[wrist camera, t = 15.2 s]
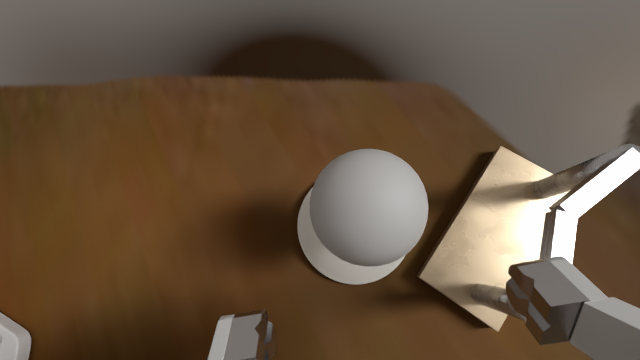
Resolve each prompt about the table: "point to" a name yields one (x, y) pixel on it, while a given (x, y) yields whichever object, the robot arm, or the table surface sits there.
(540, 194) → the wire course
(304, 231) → the coaster
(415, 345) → the table surface
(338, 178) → the lightbulb
